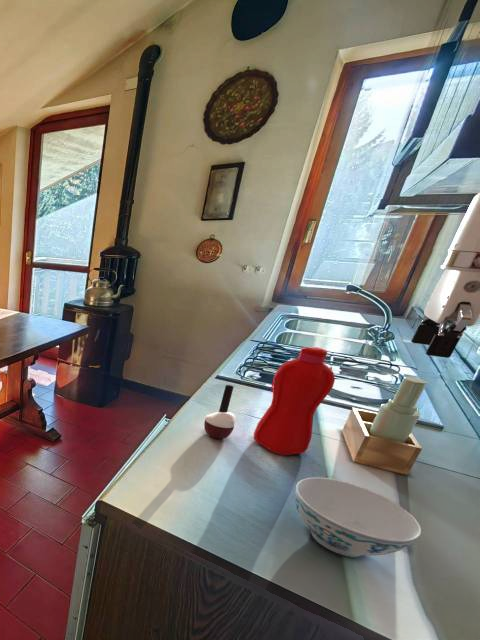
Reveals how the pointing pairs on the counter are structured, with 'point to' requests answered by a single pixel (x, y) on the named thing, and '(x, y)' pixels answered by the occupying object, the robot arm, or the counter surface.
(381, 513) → the chinaware
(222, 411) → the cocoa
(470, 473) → the counter surface
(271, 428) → the red plastic tall container
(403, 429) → the bottle
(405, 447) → the box
